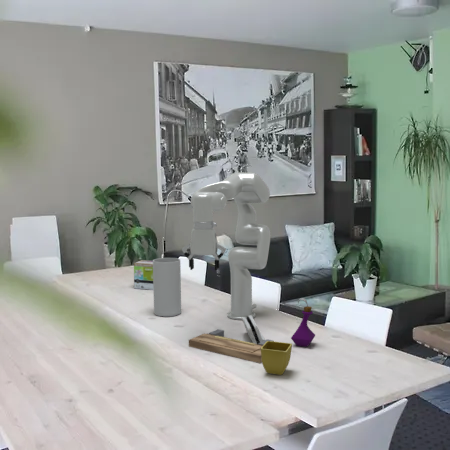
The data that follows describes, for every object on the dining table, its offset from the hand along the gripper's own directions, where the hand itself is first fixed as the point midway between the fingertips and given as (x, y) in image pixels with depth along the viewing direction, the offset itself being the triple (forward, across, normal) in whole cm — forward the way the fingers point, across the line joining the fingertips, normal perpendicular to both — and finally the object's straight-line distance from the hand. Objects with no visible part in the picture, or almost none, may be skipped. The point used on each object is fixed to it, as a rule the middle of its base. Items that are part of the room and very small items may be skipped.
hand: (204, 269), depth 223 cm
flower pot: (+28, -31, +32) cm, 52 cm away
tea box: (+29, +49, -85) cm, 103 cm away
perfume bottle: (+28, -38, +2) cm, 48 cm away
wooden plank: (+28, -12, +12) cm, 33 cm away
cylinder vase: (+28, +25, -34) cm, 51 cm away
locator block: (+28, -4, 0) cm, 28 cm away
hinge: (+28, -19, -3) cm, 34 cm away
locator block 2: (+28, -25, +10) cm, 39 cm away
